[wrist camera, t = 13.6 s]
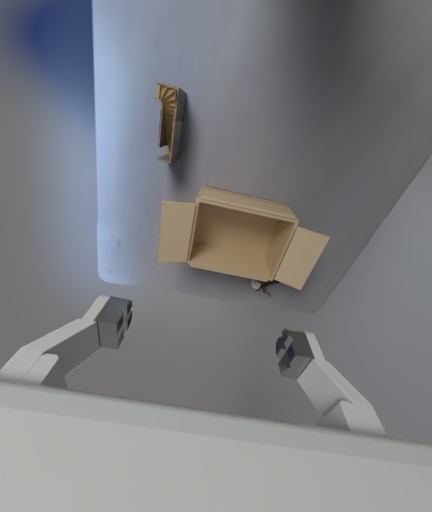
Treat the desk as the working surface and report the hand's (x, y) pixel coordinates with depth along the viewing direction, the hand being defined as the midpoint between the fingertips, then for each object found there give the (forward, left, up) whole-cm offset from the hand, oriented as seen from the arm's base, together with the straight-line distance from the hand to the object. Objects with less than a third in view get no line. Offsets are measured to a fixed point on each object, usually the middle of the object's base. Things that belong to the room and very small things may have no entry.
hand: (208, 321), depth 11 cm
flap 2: (+11, +16, -31) cm, 36 cm away
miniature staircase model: (-7, -11, -42) cm, 44 cm away
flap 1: (+11, -4, -31) cm, 33 cm away
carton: (+11, +6, -41) cm, 43 cm away
